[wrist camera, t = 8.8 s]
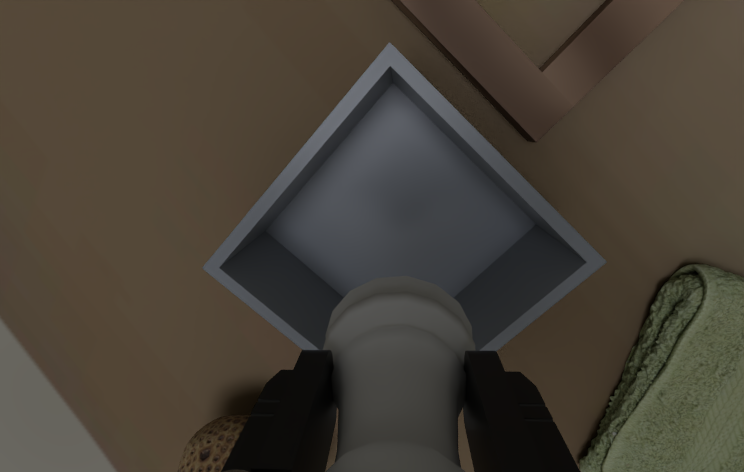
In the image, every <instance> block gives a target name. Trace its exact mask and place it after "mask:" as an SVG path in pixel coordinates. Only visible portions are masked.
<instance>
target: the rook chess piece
mask: <svg viewBox="0 0 744 472" xmlns="http://www.w3.org/2000/svg"><path fill="white" fill-rule="evenodd" d="M325 336H326V340H325V344H324V347H323V350H331V351H332V355H333V365H334V369H333V372H332V375H331V382H332V392H333V401H334V404H335V405H336V406H337V408H338V409H339V415H338V445H337V454H336V459H335V463H334V464H333V465H332V466H331V467H330V468H329V469H328V470H327V471H326V472H465V471H464V470H463V469H461V465H460V459H459V454H458V416H459V414H460V412H461V410H462V408H463V405H464V403H465V401H466V373H465V371H464V355H465V351H475V343H474V341H473V339H472V326H471V324H470V322H469V320H468V318H467V317H466V315H465V313H464V311H463V309H462V307H461V305H460V303H459V302H458V301H456V300H455V299H454V298H453V297H451V296H450V295H449V294H448V293H446V292H445V291H444V290H442V289H441V288H440V287H439V286H437V285H436V284H433V283H429V282H426V281H423V280H419V279H416V278H413V277H409V276H397V277H384V278H375V279H373V280H371V281H369V282H367V283H365V284H363V285H361V286H359V287H357V288H355V289H353V290H351V291H349V293H348V294H347V295H346V296H345V297H344V298H343V299H342V301H341V302H340V303H339V304H338V305H337V306H336V308H335V309H334V310H333V311H332V314H331V318H330V321H329V325H328V328H327V332H326V335H325Z"/></svg>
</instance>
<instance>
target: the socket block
mask: <svg viewBox="0 0 744 472" xmlns="http://www.w3.org/2000/svg"><path fill="white" fill-rule="evenodd" d="M392 1H393V2H394V3H395V4H396V5H397V6H398V7H399V8H400V9H401V10H402V12H403V13H404V14H405V15H406V16H407V17H408V18H409V19H410V20H411V21H412V22H413V23H414V24H415V25H416V26H417V27H418V28H419V29H420V30H421V31H422V32H423V33H424V34H425V35H426V36H427V37H428V38H429V39H430V40H431V42H432V43H433V44H434V45H435V46H436V47H437V48H438V49H439V50H440V51H441V52H442V53H443V54H444V55H445V56H446V57H447V58H448V59H449V60H450V61H451V62H452V63H453V64H454V65H455V66H456V67H457V68H458V69H459V70H460V72H461V73H462V74H463V75H464V76H465V77H466V78H467V79H468V80H469V81H470V82H471V83H472V84H473V85H474V86H475V87H476V88H477V89H478V90H479V91H480V92H481V93H482V94H483V95H484V96H485V97H486V98H487V99H488V100H489V101H490V103H491V104H492V105H493V106H494V107H495V108H496V109H497V110H498V111H499V112H500V113H501V114H502V115H503V116H504V117H505V118H506V119H507V120H508V121H509V122H510V123H511V124H512V125H513V126H514V127H515V128H516V129H517V130H518V131H519V133H520V134H521V135H522V136H523V137H524V138H525V139H526V140H527V141H532V142H537V141H538V140H539V139H540V138H541V137H542V136H544V135H545V134H546V133H547V132H548V131H549V130H550V129H551V128H552V127H553V126H554V125H555V124H556V123H557V122H558V121H559V120H560V119H561V118H562V117H563V116H564V115H565V114H566V113H567V112H569V111H570V110H571V109H572V108H573V107H574V106H575V105H576V104H577V103H578V102H579V101H580V100H581V99H582V98H583V97H584V96H585V95H586V94H587V93H588V92H589V91H590V90H591V89H592V88H593V87H595V86H596V85H597V84H598V83H599V82H600V81H601V80H602V79H603V78H604V77H605V76H606V75H607V74H608V73H609V72H610V71H611V70H612V69H613V68H614V67H615V66H616V65H617V64H618V63H619V62H621V61H622V60H623V59H624V58H625V57H626V56H627V55H628V54H629V53H630V52H631V51H632V50H633V49H634V48H635V47H636V46H637V45H638V44H639V43H640V42H641V41H642V40H643V39H644V38H645V37H647V36H648V35H649V34H650V33H651V32H652V31H653V30H654V29H655V28H656V27H657V26H658V25H659V24H660V23H661V22H662V21H663V20H664V19H665V18H666V17H667V16H668V15H669V14H670V13H671V12H673V11H674V10H675V9H676V8H677V7H678V6H679V5H680V4H681V3H682V2H683V1H684V0H606V1H605V2H604V3H603V4H602V5H601V6H600V7H599V8H598V9H597V10H596V11H595V12H594V13H593V14H592V15H591V16H590V17H589V18H588V19H587V21H586V22H585V23H584V24H583V25H582V26H581V27H580V28H579V29H578V30H577V31H576V32H575V33H574V34H573V35H572V36H571V37H570V38H569V39H568V40H567V41H566V42H565V43H564V44H563V45H562V46H561V47H560V48H559V49H558V50H557V51H556V52H555V53H554V54H553V55H552V56H551V57H550V58H549V59H548V60H547V61H546V62H545V63H544V65H543V66H542V67H541V68H540V69H538V67H537V66H536V65H535V64H534V63H533V62H532V61H531V60H530V59H529V58H528V57H527V56H526V54H525V53H524V52H523V51H522V50H521V49H520V48H519V47H518V46H517V45H516V44H515V43H514V41H513V40H512V39H511V38H510V37H509V36H508V35H507V34H506V33H505V32H504V31H503V30H502V29H501V27H500V26H499V25H498V24H497V23H496V22H495V21H494V20H493V19H492V18H491V17H490V16H489V14H488V13H487V12H486V11H485V10H484V9H483V8H482V7H481V6H480V5H479V4H478V3H477V1H476V0H392Z"/></svg>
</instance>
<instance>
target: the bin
mask: <svg viewBox="0 0 744 472" xmlns="http://www.w3.org/2000/svg"><path fill="white" fill-rule="evenodd" d="M605 263H606V260H605V259H604V258H603V257H602V256H601V255H600V254H599V253H598V252H597V251H596V250H595V249H594V248H593V247H592V246H591V245H590V244H589V243H588V242H587V241H586V240H585V239H584V238H583V237H582V236H581V235H580V234H579V233H578V232H577V231H576V230H575V229H574V228H573V227H572V226H571V225H570V224H569V223H568V222H567V221H566V220H565V219H564V218H563V217H562V216H561V215H560V214H559V213H558V212H557V211H556V210H555V209H554V208H553V207H552V206H551V205H550V204H549V203H548V202H547V201H546V200H545V199H544V198H543V197H542V196H541V195H540V194H539V193H538V192H537V191H536V190H535V189H534V188H533V187H532V186H531V185H530V184H529V183H528V182H527V181H526V180H525V179H524V178H523V177H522V176H521V175H520V174H519V173H518V172H517V171H516V170H515V169H514V167H513V166H512V165H511V164H510V163H509V162H508V161H507V160H506V159H505V158H504V157H503V156H502V155H501V154H500V153H499V152H498V151H497V150H496V149H495V148H494V147H493V146H492V145H491V144H490V143H489V142H488V141H487V140H486V139H485V138H484V137H483V136H482V135H481V134H480V133H479V132H478V131H477V130H476V129H475V128H474V127H473V126H472V125H471V124H470V123H469V122H468V121H467V120H466V119H465V118H464V117H463V116H462V115H461V114H460V113H459V112H458V111H457V110H456V109H455V108H454V107H453V106H452V105H451V104H450V103H449V102H448V101H447V100H446V99H445V98H444V97H443V96H442V95H441V94H440V93H439V92H438V91H437V90H436V89H435V88H434V87H433V86H432V85H431V84H430V83H429V82H428V81H427V80H426V79H425V78H424V77H423V76H422V75H421V73H420V72H419V71H418V70H417V69H416V68H415V67H414V66H413V65H412V64H411V63H410V62H409V61H408V60H407V59H406V58H405V57H404V56H403V55H402V54H401V53H400V52H399V51H398V50H397V49H396V48H395V47H394V46H393V45H392V44H391V43H390V42H389V44H388V45H387V46H386V47H385V48H384V50H383V51H382V52H381V53H380V54H379V56H378V57H377V58H376V59H375V60H374V62H373V63H372V64H371V65H370V66H369V68H368V69H367V70H366V71H365V72H364V74H363V75H362V76H361V77H360V78H359V80H358V81H357V82H356V83H355V84H354V86H353V87H352V88H351V89H350V91H349V92H348V93H347V94H346V95H345V97H344V98H343V99H342V100H341V101H340V103H339V104H338V105H337V106H336V107H335V109H334V110H333V111H332V112H331V113H330V115H329V116H328V117H327V118H326V119H325V121H324V122H323V123H322V124H321V125H320V127H319V128H318V129H317V130H316V131H315V133H314V134H313V135H312V136H311V137H310V139H309V140H308V141H307V142H306V144H305V145H304V146H303V147H302V148H301V150H300V151H299V152H298V153H297V154H296V156H295V157H294V158H293V159H292V160H291V162H290V163H289V164H288V165H287V166H286V168H285V169H284V170H283V171H282V172H281V174H280V175H279V176H278V177H277V178H276V180H275V181H274V182H273V183H272V184H271V186H270V187H269V188H268V189H267V190H266V192H265V193H264V194H263V195H262V197H261V198H260V199H259V200H258V201H257V203H256V204H255V205H254V206H253V207H252V209H251V210H250V211H249V212H248V213H247V215H246V216H245V217H244V218H243V219H242V221H241V222H240V223H239V224H238V225H237V227H236V228H235V229H234V230H233V231H232V233H231V234H230V235H229V236H228V237H227V239H226V240H225V241H224V242H223V243H222V245H221V246H220V247H219V248H218V250H217V251H216V252H215V253H214V254H213V256H212V257H211V258H210V259H209V260H208V262H207V263H206V264H205V265H204V266H203V269H204V270H205V271H206V272H207V273H209V274H210V275H211V276H212V277H214V278H215V279H216V280H217V281H219V282H220V283H221V284H222V285H224V286H225V287H226V288H227V289H228V290H230V291H231V292H232V293H233V294H235V295H236V296H237V297H238V298H240V299H241V300H242V301H243V302H245V303H246V304H247V305H248V306H249V307H251V308H252V309H253V310H254V311H256V312H257V313H258V314H259V315H261V316H262V317H263V318H264V319H265V320H267V321H268V322H269V323H270V324H272V325H273V326H274V327H275V328H277V329H278V330H279V331H280V332H282V333H283V334H284V335H285V336H286V337H288V338H289V339H290V340H291V341H293V342H294V343H295V344H296V345H298V346H299V347H300V348H301V349H303V350H323V347H324V344H325V340H326V336H325V335H326V332H327V328H328V325H329V321H330V318H331V314H332V311H333V310H334V309H335V308H336V306H337V305H338V304H339V303H340V302H341V301H342V299H343V298H344V297H345V296H346V295H347V294H348V293H349V291H351V290H353V289H355V288H357V287H359V286H361V285H363V284H365V283H367V282H369V281H371V280H373V279H375V278H384V277H397V276H409V277H413V278H416V279H419V280H423V281H426V282H429V283H433V284H436V285H437V286H439V287H440V288H441V289H442V290H444V291H445V292H446V293H448V294H449V295H450V296H451V297H453V298H454V299H455V300H456V301H458V302H459V303H460V305H461V307H462V309H463V311H464V313H465V315H466V317H467V318H468V320H469V322H470V324H471V326H472V339H473V341H474V343H475V351H497V350H498V349H500V348H501V347H502V346H503V345H505V344H506V343H507V342H508V341H510V340H511V339H512V338H513V337H514V336H516V335H517V334H518V333H519V332H521V331H522V330H523V329H524V328H526V327H527V326H528V325H529V324H531V323H532V322H533V321H534V320H536V319H537V318H538V317H539V316H541V315H542V314H543V313H544V312H545V311H547V310H548V309H549V308H550V307H552V306H553V305H554V304H555V303H557V302H558V301H559V300H560V299H562V298H563V297H564V296H565V295H567V294H568V293H569V292H570V291H572V290H573V289H574V288H575V287H576V286H578V285H579V284H580V283H581V282H583V281H584V280H585V279H586V278H588V277H589V276H590V275H591V274H593V273H594V272H595V271H596V270H598V269H599V268H600V267H601V266H603V265H604V264H605Z"/></svg>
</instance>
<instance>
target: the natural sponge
mask: <svg viewBox="0 0 744 472" xmlns="http://www.w3.org/2000/svg"><path fill="white" fill-rule="evenodd" d="M249 416H251V415H231V416H225V417H220V418H218V419H215V420H213V421H212V422H210V423H208V424H207V425H205V426H204V427H202V428H201V429H200V430H199V431H198V432H197V433H196V434H195V435H194V436H193V437H192V438H191V440H190V441H189V443H188V444H187V446H186V448H185V450H184V452H183V455H182V458H181V461H180V465H179V469H178V472H221V470H222V468H223V466H224V465H225V463H226V461H227V459H228V457H229V455H230V453H231V451H232V449H233V447H234V445H235V443H236V441H237V439H238V437H239V435H240V433H241V432H242V430H243V428H244V426H245V424H246V422H247V420H248V418H249Z"/></svg>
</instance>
